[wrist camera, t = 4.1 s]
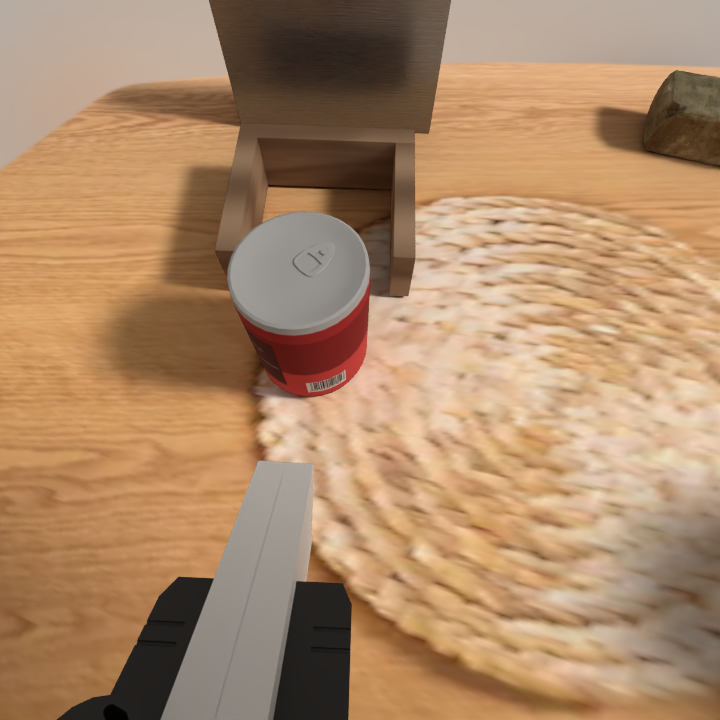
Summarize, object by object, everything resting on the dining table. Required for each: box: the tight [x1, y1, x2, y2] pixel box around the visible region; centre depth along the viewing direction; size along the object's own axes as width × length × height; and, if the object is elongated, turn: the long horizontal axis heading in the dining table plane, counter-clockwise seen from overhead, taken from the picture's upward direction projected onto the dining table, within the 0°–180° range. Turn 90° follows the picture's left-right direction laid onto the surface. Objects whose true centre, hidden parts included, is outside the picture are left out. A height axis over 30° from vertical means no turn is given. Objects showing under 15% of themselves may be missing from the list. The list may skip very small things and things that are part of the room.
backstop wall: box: [209, 0, 451, 133], centre depth 40 cm, size 3×18×12 cm, turn 88°
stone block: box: [643, 70, 720, 166], centre depth 42 cm, size 6×12×5 cm, turn 74°
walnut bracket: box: [215, 124, 415, 296], centre depth 37 cm, size 12×14×5 cm
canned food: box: [227, 212, 370, 397], centre depth 30 cm, size 8×8×11 cm
